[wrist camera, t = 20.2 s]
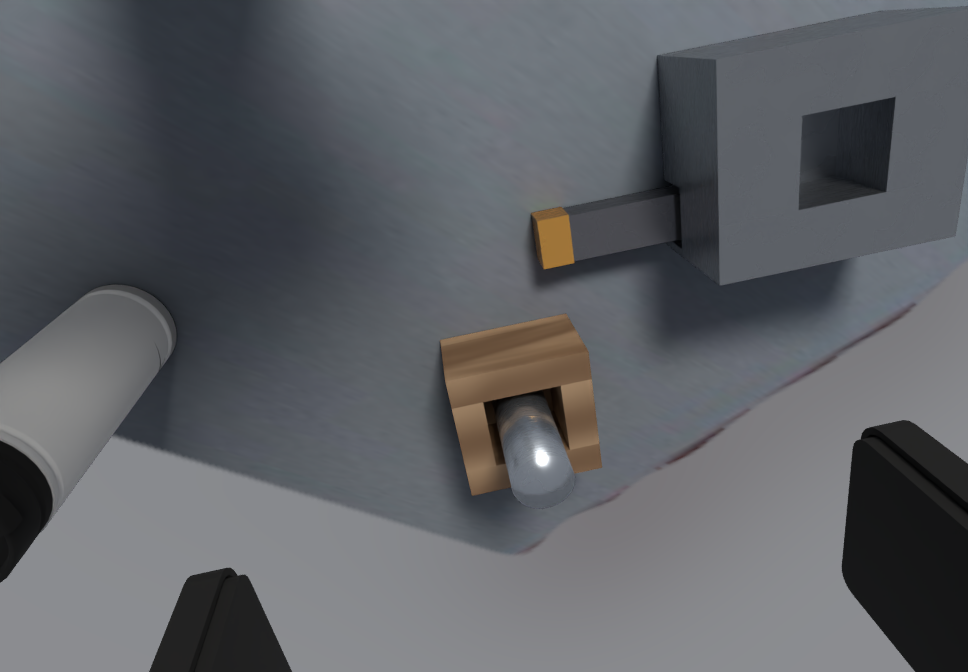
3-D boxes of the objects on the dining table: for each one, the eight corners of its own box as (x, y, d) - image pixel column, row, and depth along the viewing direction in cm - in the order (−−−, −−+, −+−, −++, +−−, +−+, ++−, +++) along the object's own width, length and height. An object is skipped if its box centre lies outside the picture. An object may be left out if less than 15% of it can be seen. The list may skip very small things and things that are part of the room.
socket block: (657, 55, 39) (716, 59, 31) (881, 10, 39) (990, 4, 32) (667, 244, 44) (719, 285, 37) (865, 203, 44) (955, 236, 37)
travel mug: (201, 347, 43) (56, 571, 25) (113, 384, 43) (-91, 631, 25) (145, 265, 40) (-62, 451, 22) (53, 306, 41) (-225, 520, 23)
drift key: (531, 212, 42) (537, 221, 40) (769, 164, 42) (786, 170, 40) (537, 259, 43) (543, 269, 41) (768, 211, 43) (785, 219, 42)
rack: (440, 340, 45) (445, 381, 39) (566, 313, 45) (588, 351, 40) (464, 444, 49) (472, 495, 43) (580, 420, 49) (602, 467, 44)
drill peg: (485, 369, 45) (507, 462, 35) (536, 360, 45) (572, 450, 35) (492, 413, 47) (515, 513, 37) (541, 404, 47) (577, 502, 37)
